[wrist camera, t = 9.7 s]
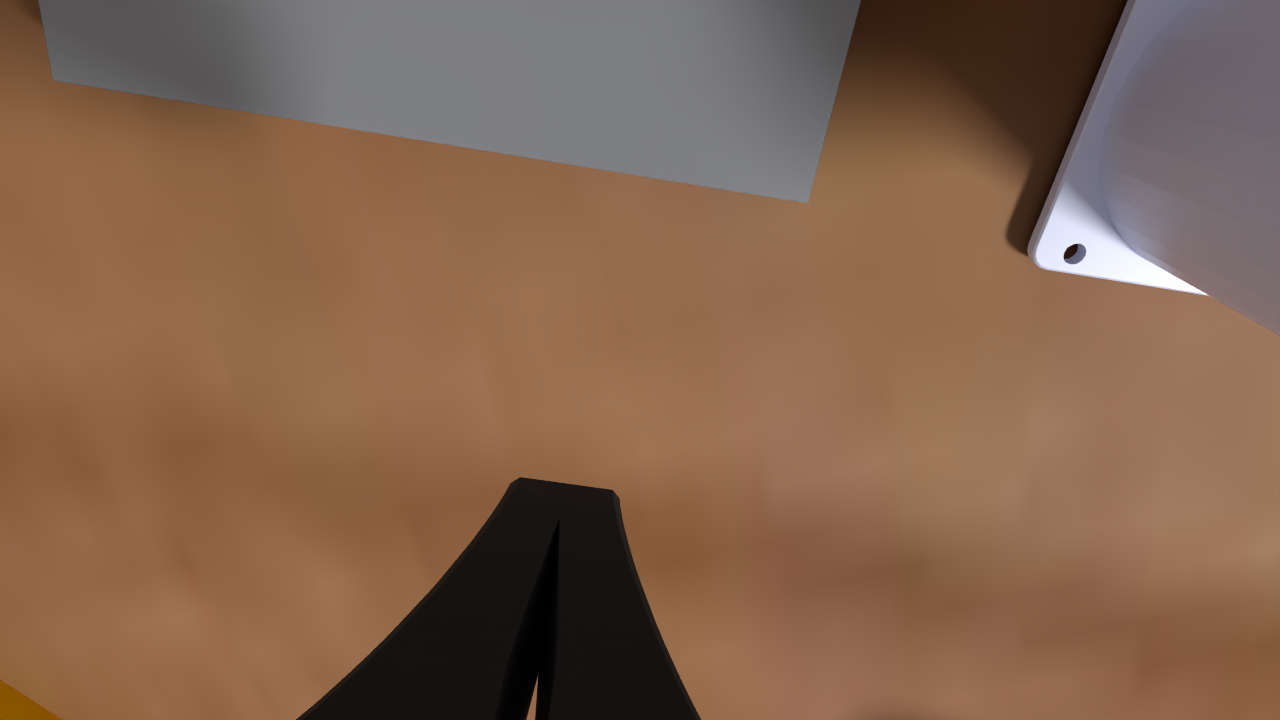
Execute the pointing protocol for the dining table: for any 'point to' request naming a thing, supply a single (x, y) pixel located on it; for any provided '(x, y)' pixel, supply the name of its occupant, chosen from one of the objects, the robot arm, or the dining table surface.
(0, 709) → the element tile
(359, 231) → the dining table surface
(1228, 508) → the dining table surface
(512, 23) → the box
